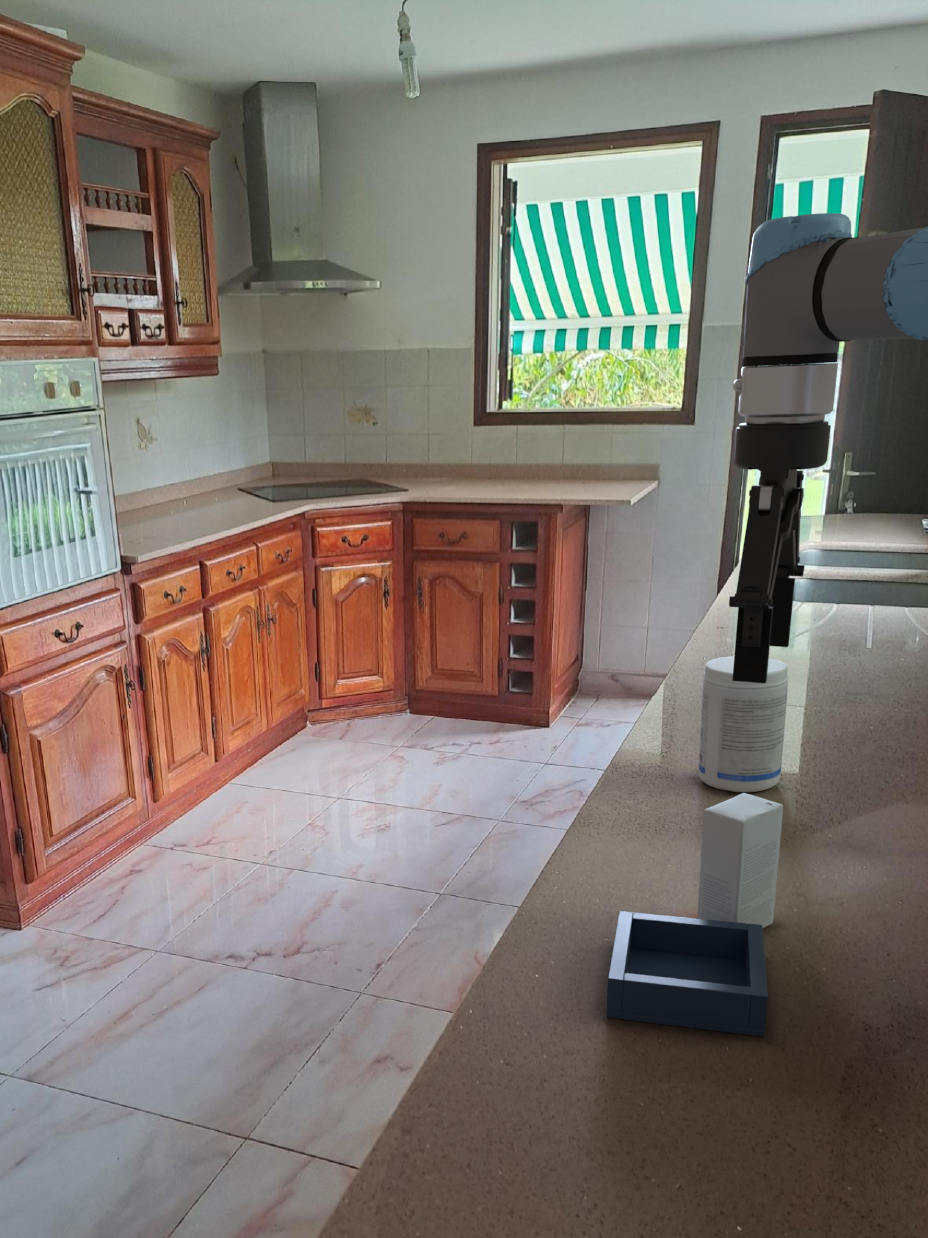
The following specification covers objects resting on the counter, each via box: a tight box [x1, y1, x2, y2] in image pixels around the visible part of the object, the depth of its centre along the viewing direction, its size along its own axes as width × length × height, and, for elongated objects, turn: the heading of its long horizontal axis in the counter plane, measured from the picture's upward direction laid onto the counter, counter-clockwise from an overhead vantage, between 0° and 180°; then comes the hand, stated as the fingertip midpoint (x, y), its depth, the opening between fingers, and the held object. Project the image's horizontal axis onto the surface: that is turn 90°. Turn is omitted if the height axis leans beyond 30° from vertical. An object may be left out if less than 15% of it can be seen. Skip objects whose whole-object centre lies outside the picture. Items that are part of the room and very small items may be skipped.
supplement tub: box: [697, 655, 789, 793], centre depth 134 cm, size 10×10×15 cm
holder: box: [605, 910, 769, 1038], centre depth 92 cm, size 12×12×4 cm
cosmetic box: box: [696, 792, 784, 930], centre depth 100 cm, size 6×4×12 cm
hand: (761, 662), depth 102 cm, fingers open, 13 cm apart
